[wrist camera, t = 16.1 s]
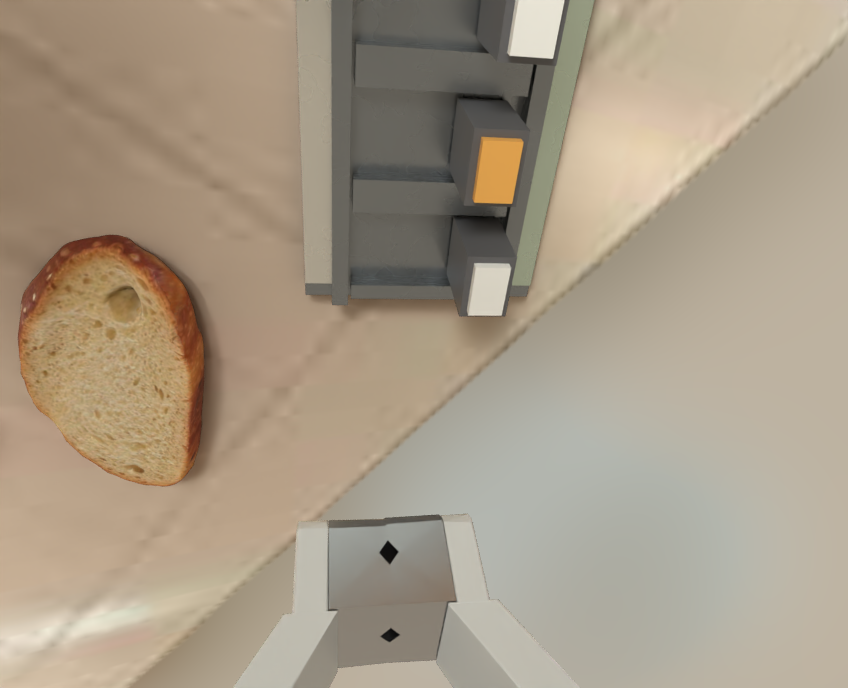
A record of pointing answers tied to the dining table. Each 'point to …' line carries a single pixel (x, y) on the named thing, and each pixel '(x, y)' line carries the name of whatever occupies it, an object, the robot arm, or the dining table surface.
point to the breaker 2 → (522, 30)
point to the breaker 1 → (480, 266)
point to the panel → (412, 140)
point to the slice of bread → (115, 358)
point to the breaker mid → (488, 152)
